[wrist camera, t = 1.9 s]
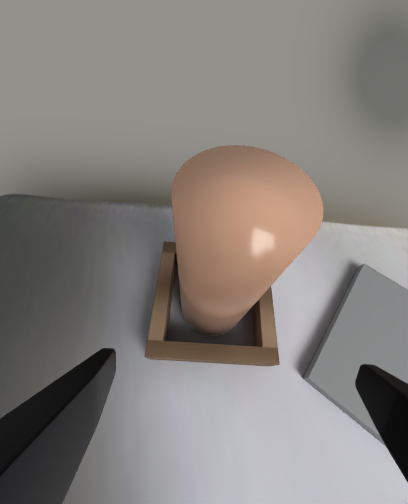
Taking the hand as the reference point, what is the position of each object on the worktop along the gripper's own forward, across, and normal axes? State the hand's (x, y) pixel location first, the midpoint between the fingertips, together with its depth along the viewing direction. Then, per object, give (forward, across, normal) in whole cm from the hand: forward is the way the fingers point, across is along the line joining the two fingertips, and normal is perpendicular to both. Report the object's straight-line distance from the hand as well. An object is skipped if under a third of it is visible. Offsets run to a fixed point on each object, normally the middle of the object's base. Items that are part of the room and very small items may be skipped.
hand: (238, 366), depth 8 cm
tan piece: (+14, 0, +4) cm, 14 cm away
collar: (+13, 0, +5) cm, 14 cm away
